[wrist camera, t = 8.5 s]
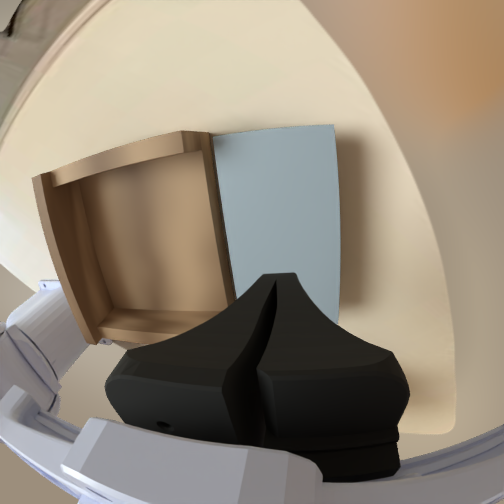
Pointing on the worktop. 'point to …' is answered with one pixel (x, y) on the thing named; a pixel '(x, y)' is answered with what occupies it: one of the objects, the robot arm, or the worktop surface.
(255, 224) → the panel
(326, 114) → the worktop surface
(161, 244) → the brown open rectangular box
